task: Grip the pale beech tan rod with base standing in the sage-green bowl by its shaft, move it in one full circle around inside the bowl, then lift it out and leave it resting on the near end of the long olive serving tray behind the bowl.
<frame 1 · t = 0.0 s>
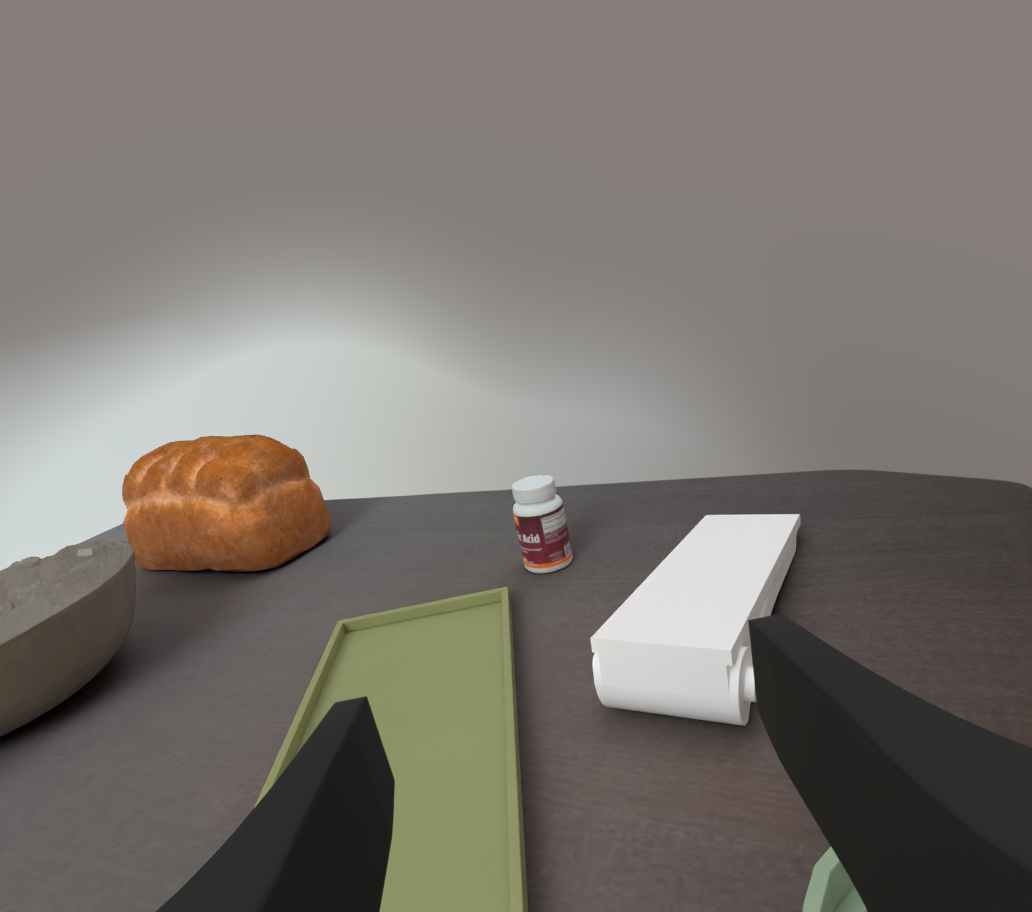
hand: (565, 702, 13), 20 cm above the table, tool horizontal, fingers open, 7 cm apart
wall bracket: (721, 614, 52), on the table
pill bottle: (549, 565, 67), on the table
bread: (235, 553, 91), on the table
serving tray: (396, 772, 42), on the table
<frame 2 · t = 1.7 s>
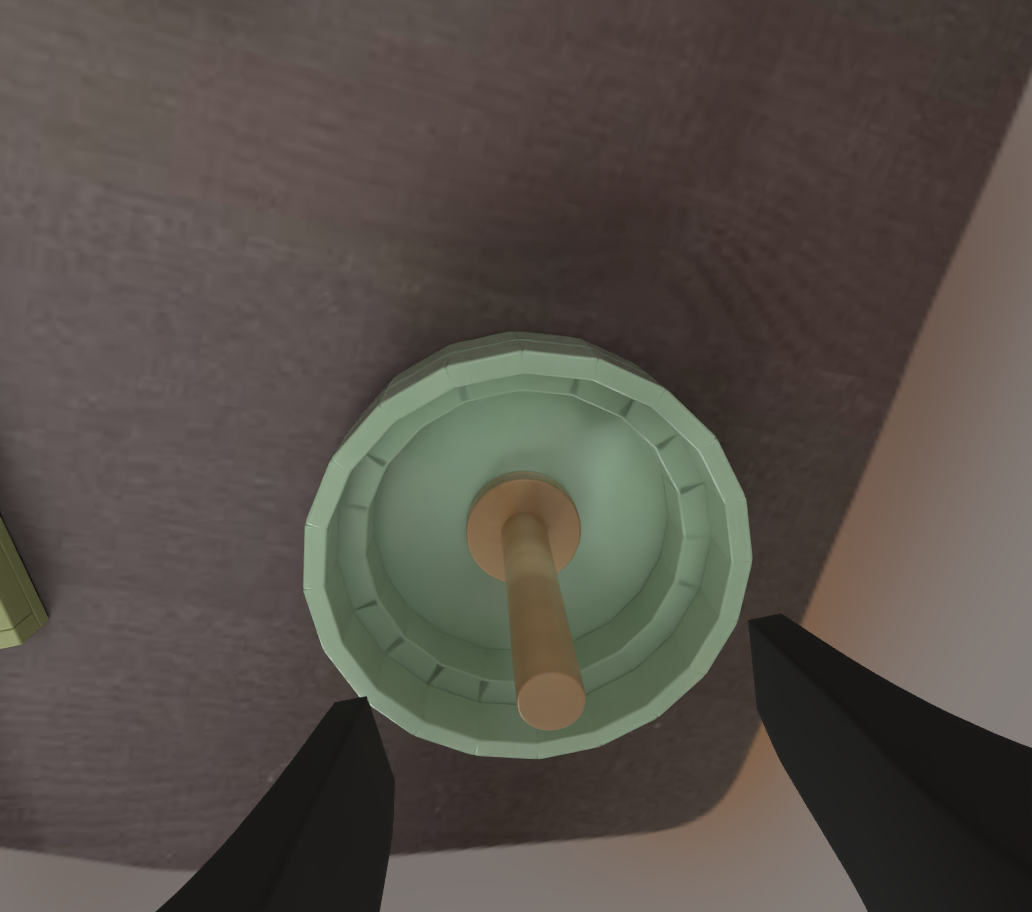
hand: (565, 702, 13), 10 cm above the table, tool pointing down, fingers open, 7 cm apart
mixing bowl: (521, 518, 23), on the table
tan rod with base: (522, 523, 22), resting on mixing bowl
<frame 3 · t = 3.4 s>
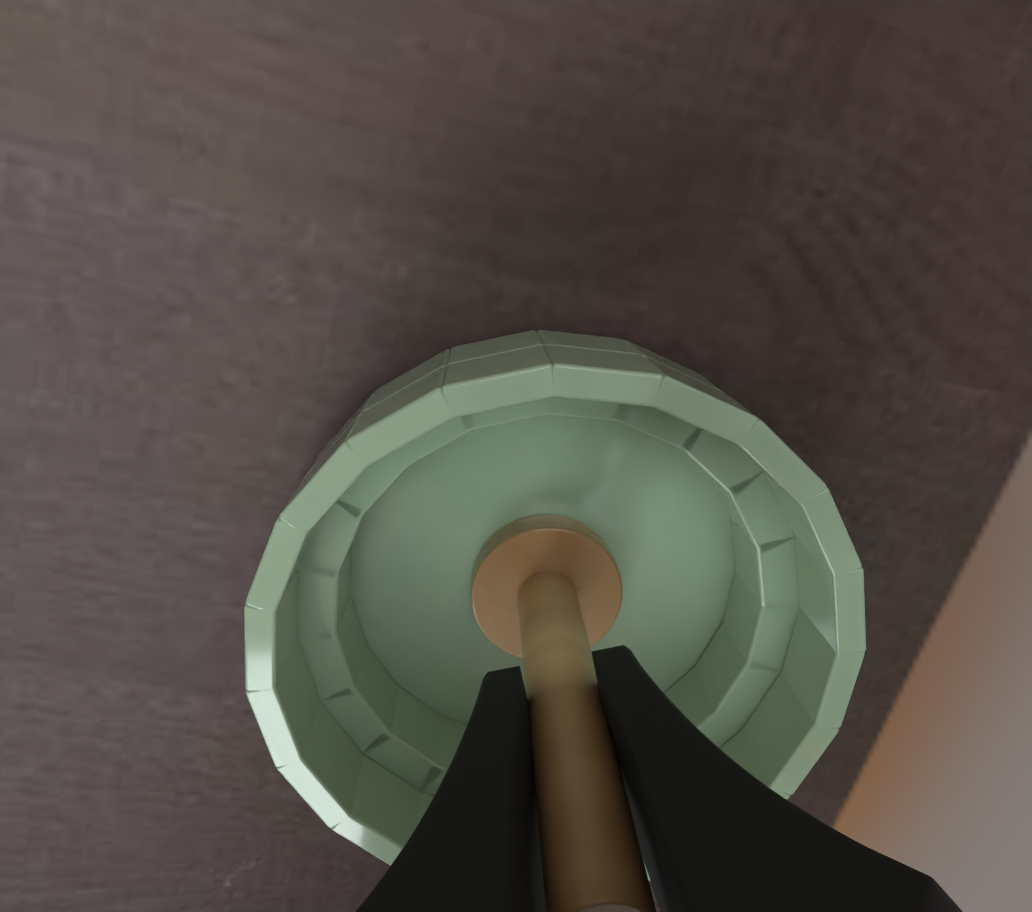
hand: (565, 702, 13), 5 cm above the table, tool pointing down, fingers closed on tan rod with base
mixing bowl: (542, 572, 18), on the table
tan rod with base: (544, 580, 17), resting on mixing bowl, touching gripper
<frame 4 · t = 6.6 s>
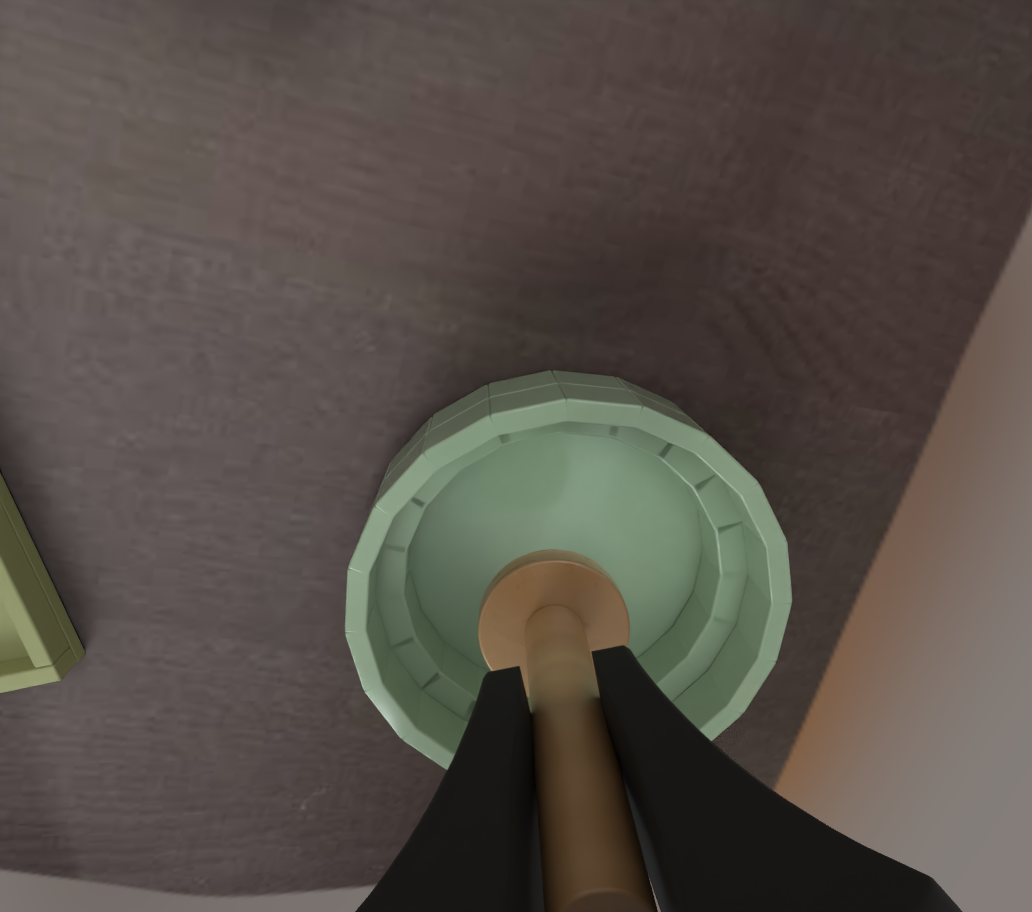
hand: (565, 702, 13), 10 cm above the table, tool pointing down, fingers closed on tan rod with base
mixing bowl: (555, 552, 23), on the table
tan rod with base: (552, 617, 17), point 6 cm above the table, tilted 7°, touching gripper
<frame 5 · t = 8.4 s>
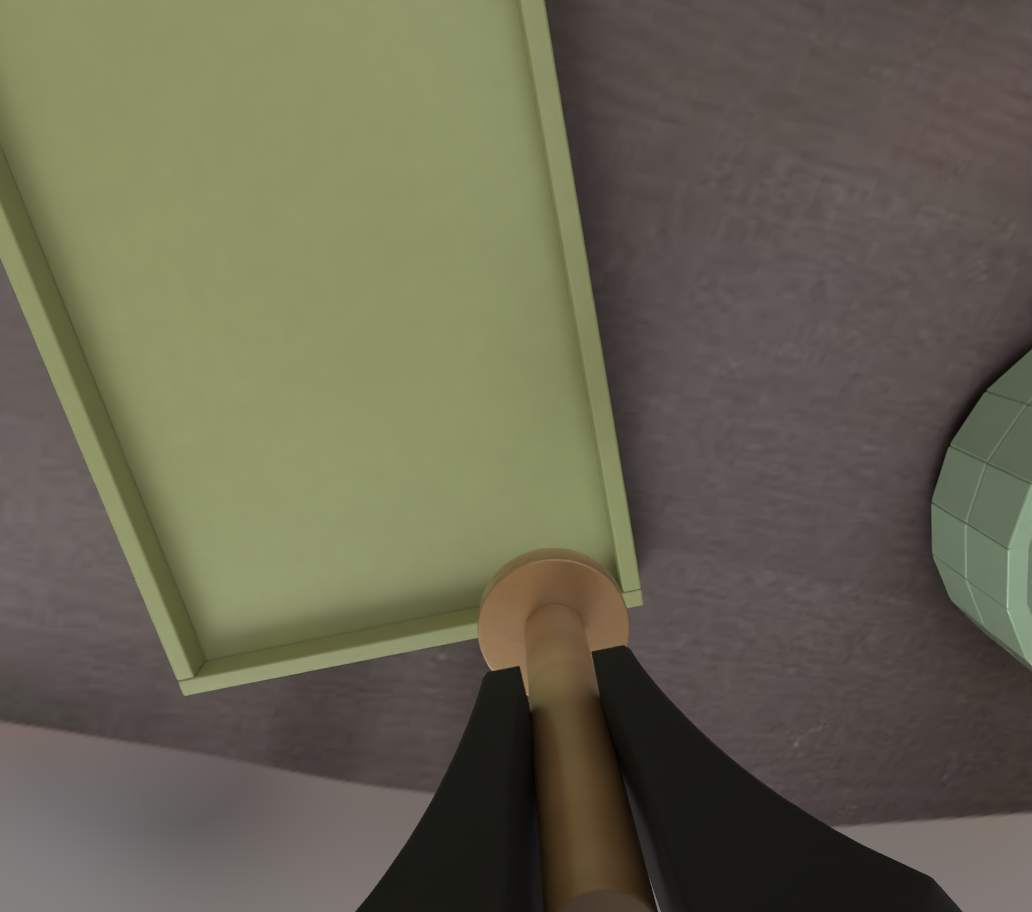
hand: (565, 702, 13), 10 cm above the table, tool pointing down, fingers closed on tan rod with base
tan rod with base: (551, 616, 17), point 6 cm above the table, tilted 6°, touching gripper
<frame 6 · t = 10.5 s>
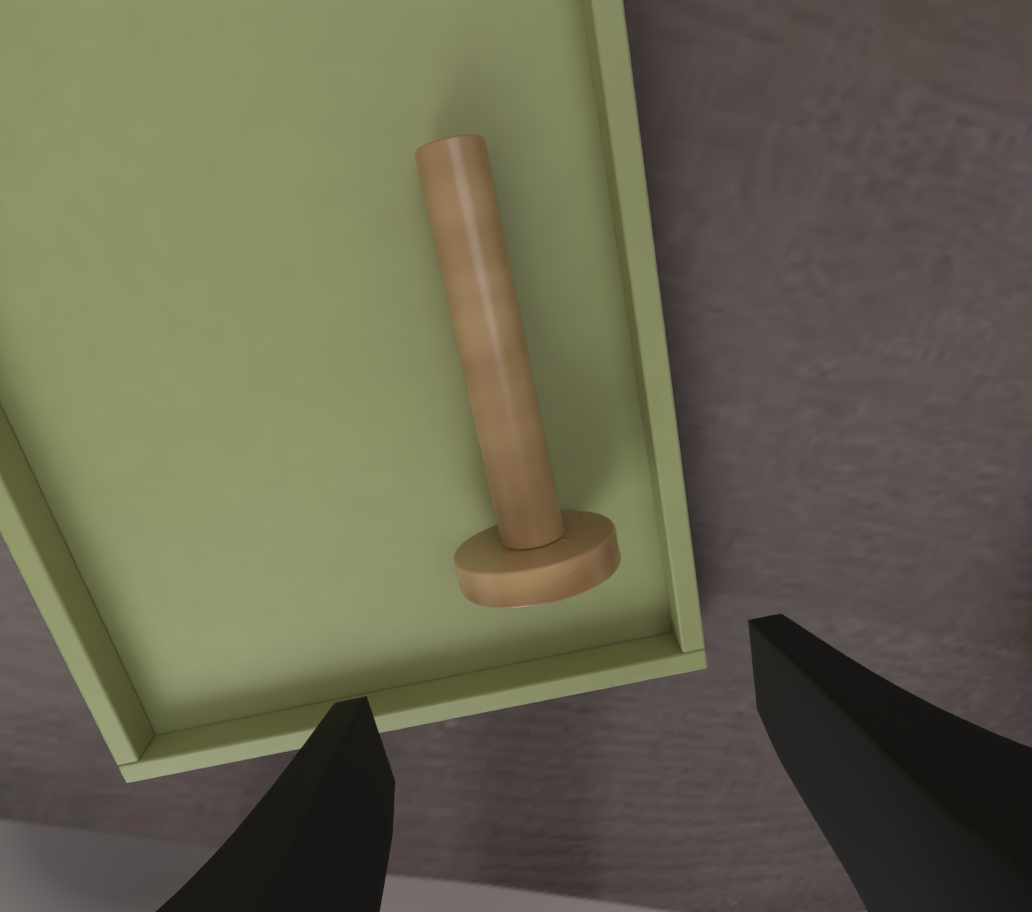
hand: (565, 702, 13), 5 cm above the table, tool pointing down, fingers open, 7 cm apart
tan rod with base: (540, 571, 15), point 2 cm above the table, tilted 98°, touching serving tray
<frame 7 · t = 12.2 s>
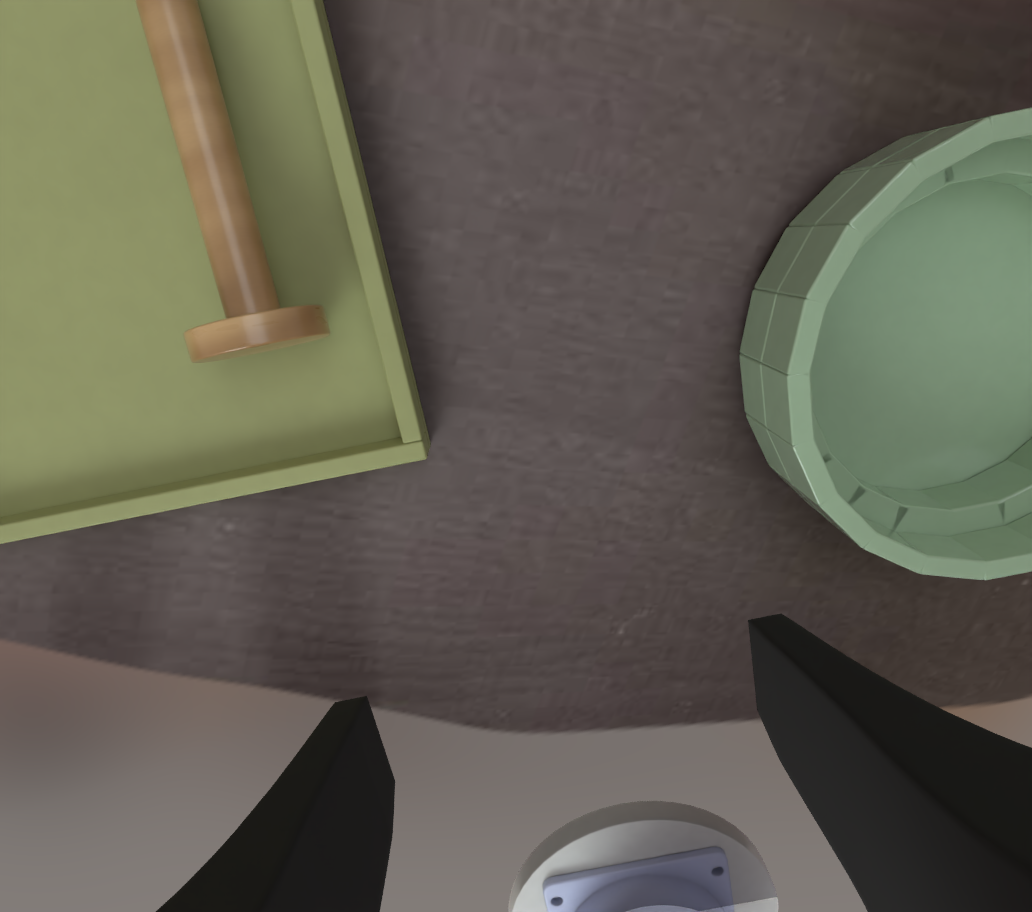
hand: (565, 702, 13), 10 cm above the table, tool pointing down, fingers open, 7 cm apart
mixing bowl: (930, 342, 22), on the table
tan rod with base: (263, 349, 19), point 2 cm above the table, tilted 98°, touching serving tray
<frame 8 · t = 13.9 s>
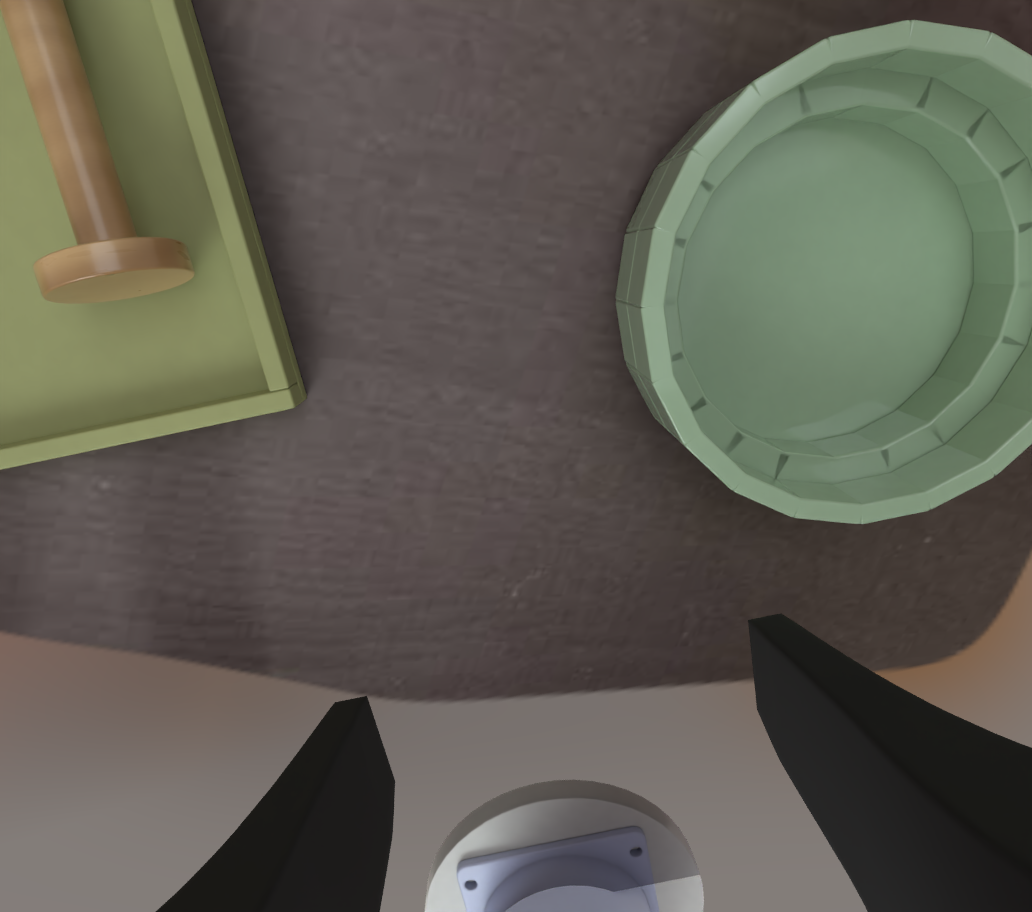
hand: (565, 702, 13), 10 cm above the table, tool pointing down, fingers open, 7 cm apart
mixing bowl: (812, 289, 21), on the table
tan rod with base: (122, 287, 18), point 2 cm above the table, tilted 98°, touching serving tray
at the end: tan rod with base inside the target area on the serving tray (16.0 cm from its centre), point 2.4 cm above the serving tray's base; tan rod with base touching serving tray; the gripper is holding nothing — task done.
